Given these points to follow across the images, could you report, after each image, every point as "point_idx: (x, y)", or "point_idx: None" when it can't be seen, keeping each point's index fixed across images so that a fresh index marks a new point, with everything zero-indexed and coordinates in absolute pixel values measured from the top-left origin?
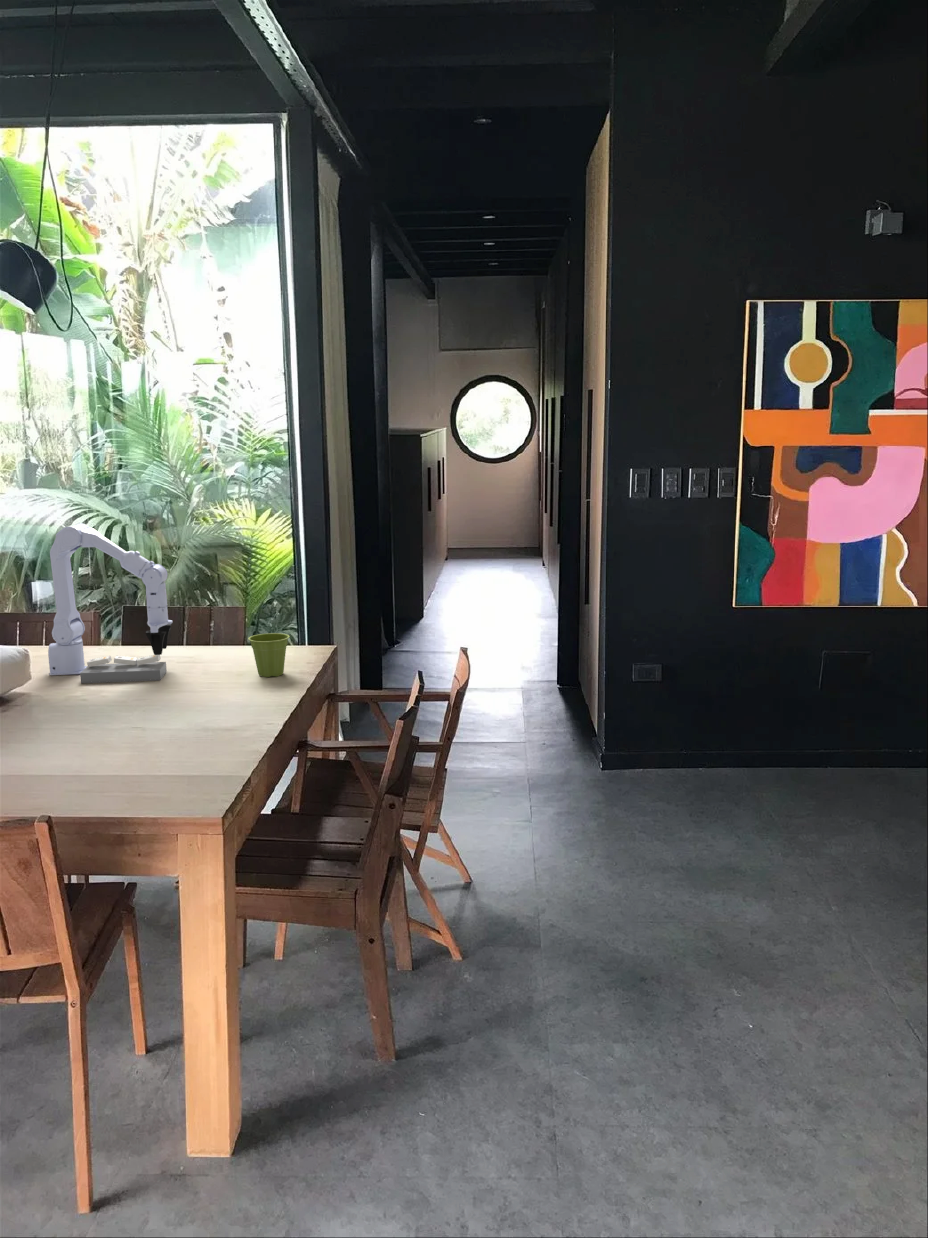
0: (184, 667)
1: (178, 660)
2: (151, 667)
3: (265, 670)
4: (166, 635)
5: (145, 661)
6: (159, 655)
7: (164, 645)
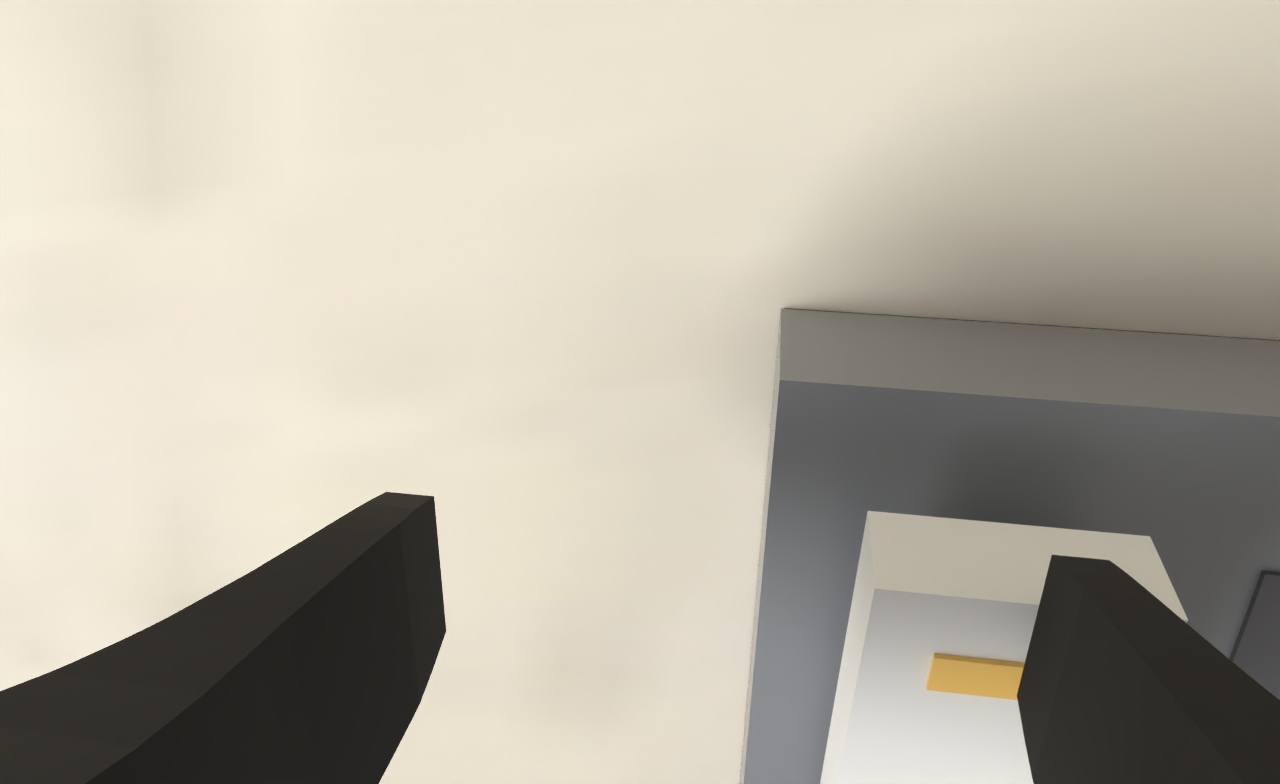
0: (518, 15)
1: (29, 192)
2: (1210, 600)
3: None
4: (227, 717)
5: None
6: (941, 577)
7: (406, 570)
